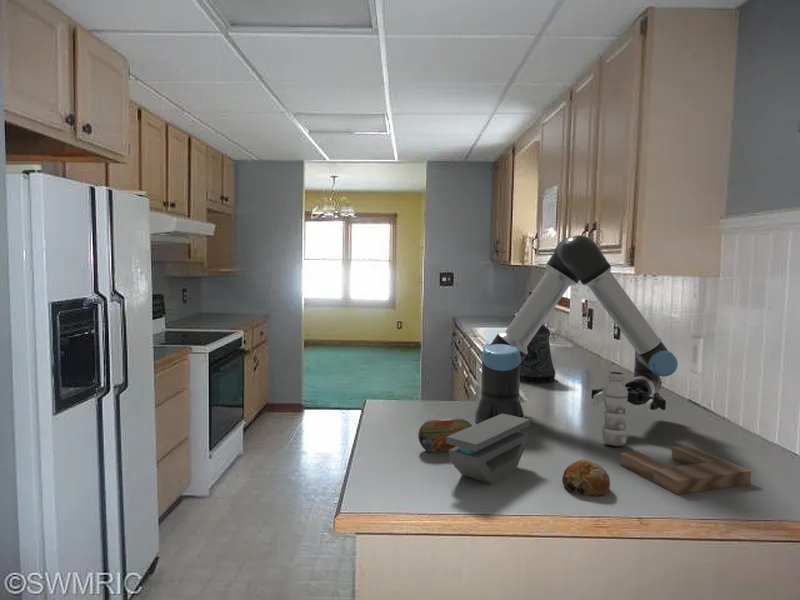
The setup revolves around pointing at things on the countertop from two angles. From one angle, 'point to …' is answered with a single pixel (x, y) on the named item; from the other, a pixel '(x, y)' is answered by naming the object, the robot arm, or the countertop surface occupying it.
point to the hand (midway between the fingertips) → (619, 404)
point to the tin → (440, 433)
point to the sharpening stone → (489, 447)
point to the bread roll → (586, 478)
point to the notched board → (687, 470)
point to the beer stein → (538, 359)
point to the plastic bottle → (614, 410)
